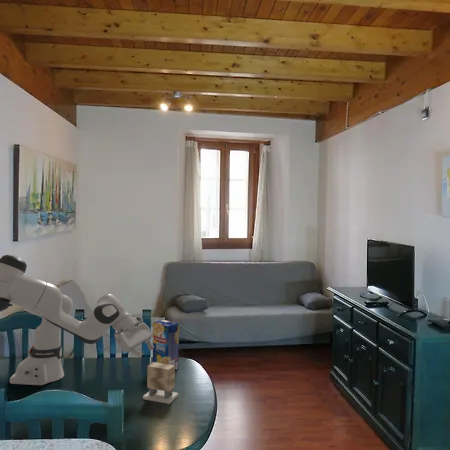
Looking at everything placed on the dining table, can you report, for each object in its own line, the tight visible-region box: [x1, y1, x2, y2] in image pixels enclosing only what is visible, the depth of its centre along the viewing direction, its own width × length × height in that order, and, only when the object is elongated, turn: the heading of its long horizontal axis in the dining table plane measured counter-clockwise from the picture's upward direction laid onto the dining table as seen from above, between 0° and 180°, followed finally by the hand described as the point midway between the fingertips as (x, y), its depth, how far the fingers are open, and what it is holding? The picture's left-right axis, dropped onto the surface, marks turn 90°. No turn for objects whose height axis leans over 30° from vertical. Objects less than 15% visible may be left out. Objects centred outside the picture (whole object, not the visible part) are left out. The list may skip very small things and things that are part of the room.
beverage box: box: [152, 319, 180, 370], centre depth 209 cm, size 7×11×22 cm, turn 51°
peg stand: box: [142, 388, 179, 405], centre depth 176 cm, size 12×8×4 cm, turn 70°
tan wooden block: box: [146, 361, 176, 392], centre depth 176 cm, size 10×5×9 cm, turn 70°
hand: (146, 352), depth 179 cm, fingers open, 8 cm apart
